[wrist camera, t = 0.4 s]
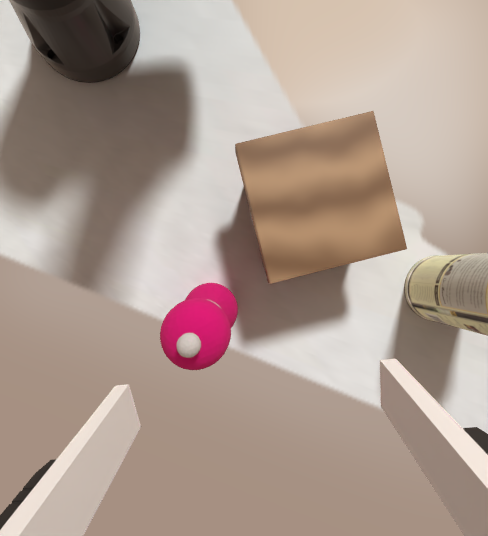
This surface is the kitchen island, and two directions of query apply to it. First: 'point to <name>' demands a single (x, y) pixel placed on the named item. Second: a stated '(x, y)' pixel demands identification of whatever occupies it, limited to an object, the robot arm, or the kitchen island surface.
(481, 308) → the coffee can
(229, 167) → the kitchen island surface
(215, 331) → the pepper mill
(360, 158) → the stool
